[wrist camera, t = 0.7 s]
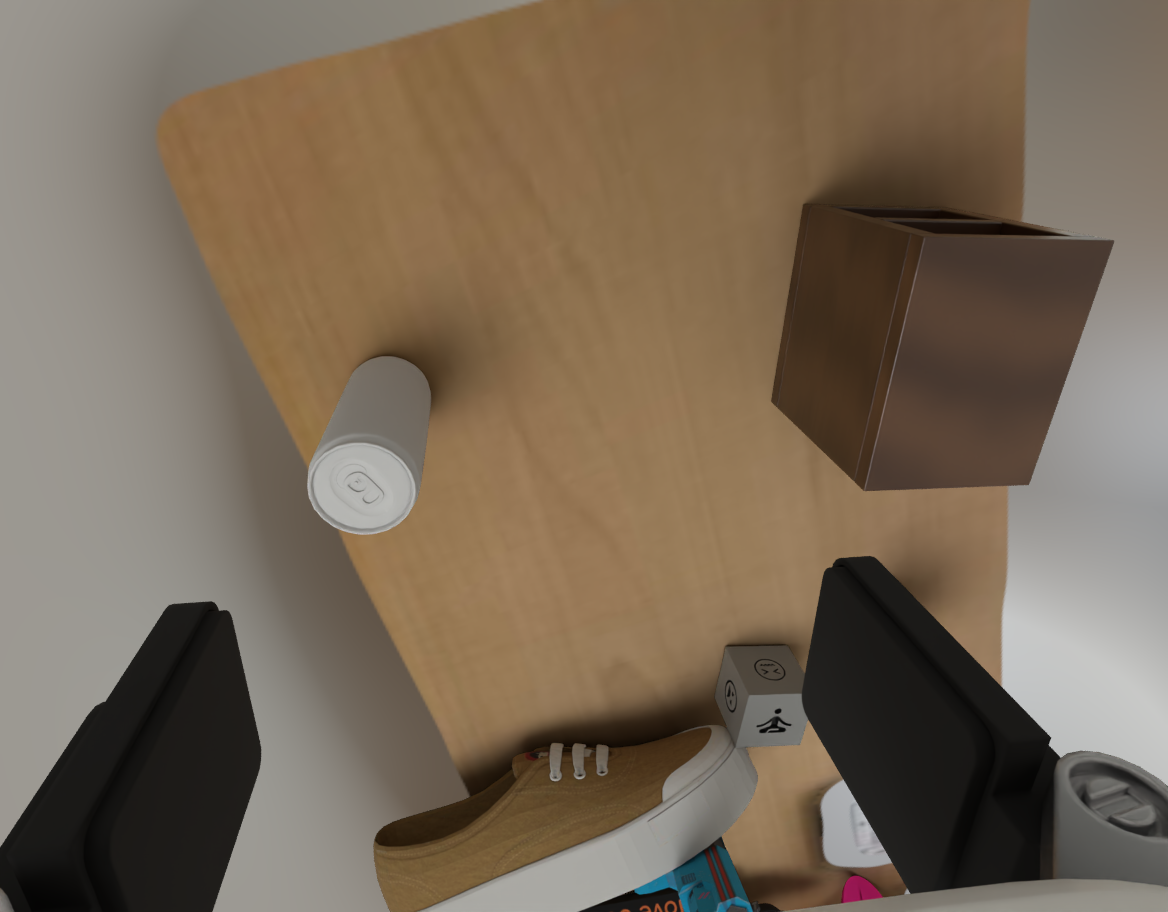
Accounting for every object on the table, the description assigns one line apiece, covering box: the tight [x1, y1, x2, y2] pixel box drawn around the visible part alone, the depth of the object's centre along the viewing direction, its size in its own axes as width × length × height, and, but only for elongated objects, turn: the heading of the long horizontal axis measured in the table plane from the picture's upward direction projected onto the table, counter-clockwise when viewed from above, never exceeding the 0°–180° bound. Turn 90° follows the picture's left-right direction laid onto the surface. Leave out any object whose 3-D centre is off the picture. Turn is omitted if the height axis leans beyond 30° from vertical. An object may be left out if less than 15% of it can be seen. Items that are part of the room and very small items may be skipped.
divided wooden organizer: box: [772, 204, 1114, 491], centre depth 38 cm, size 12×9×12 cm
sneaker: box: [373, 725, 758, 912], centre depth 53 cm, size 10×29×10 cm
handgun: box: [634, 837, 760, 912], centre depth 50 cm, size 23×3×15 cm
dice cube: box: [714, 645, 808, 748], centre depth 53 cm, size 5×5×5 cm
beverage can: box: [307, 356, 431, 534], centre depth 36 cm, size 5×5×12 cm
